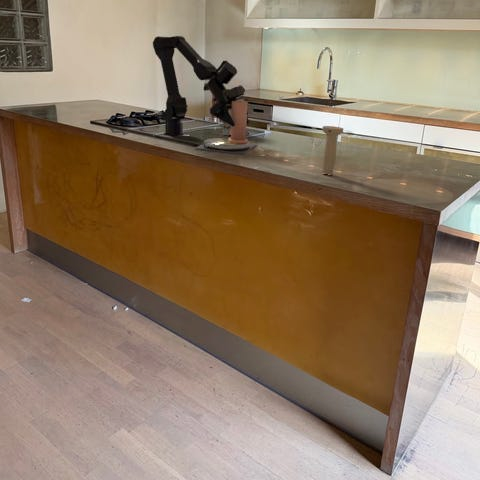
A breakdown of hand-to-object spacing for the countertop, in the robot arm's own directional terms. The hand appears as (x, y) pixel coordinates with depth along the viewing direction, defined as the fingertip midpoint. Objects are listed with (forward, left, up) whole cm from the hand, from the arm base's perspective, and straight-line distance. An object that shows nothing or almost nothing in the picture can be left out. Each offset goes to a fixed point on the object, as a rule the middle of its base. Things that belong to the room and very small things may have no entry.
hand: (241, 124), depth 186 cm
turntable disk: (-5, -3, -9) cm, 10 cm away
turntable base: (-5, -3, -9) cm, 10 cm away
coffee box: (-12, +26, -9) cm, 30 cm away
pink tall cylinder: (-1, 0, -7) cm, 7 cm away
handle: (+37, -28, -9) cm, 47 cm away
